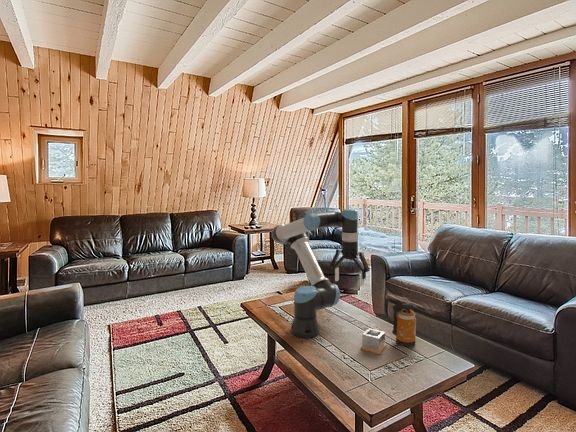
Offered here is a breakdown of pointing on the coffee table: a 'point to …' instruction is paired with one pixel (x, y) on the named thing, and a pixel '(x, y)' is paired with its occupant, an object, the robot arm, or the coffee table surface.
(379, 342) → the grey hollow block
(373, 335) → the block
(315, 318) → the robot arm
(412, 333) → the canister
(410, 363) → the coffee table surface
